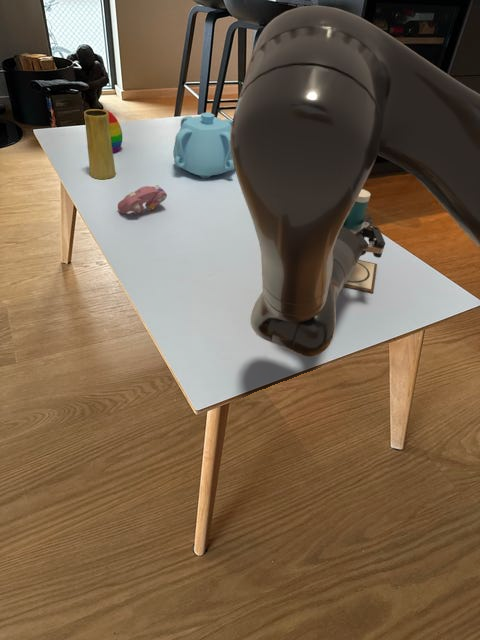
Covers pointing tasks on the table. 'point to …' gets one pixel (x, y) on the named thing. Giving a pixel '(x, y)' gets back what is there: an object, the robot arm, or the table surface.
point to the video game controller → (142, 199)
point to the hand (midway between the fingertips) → (356, 216)
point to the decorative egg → (115, 132)
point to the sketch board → (363, 277)
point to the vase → (99, 144)
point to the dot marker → (358, 210)
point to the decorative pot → (204, 145)
